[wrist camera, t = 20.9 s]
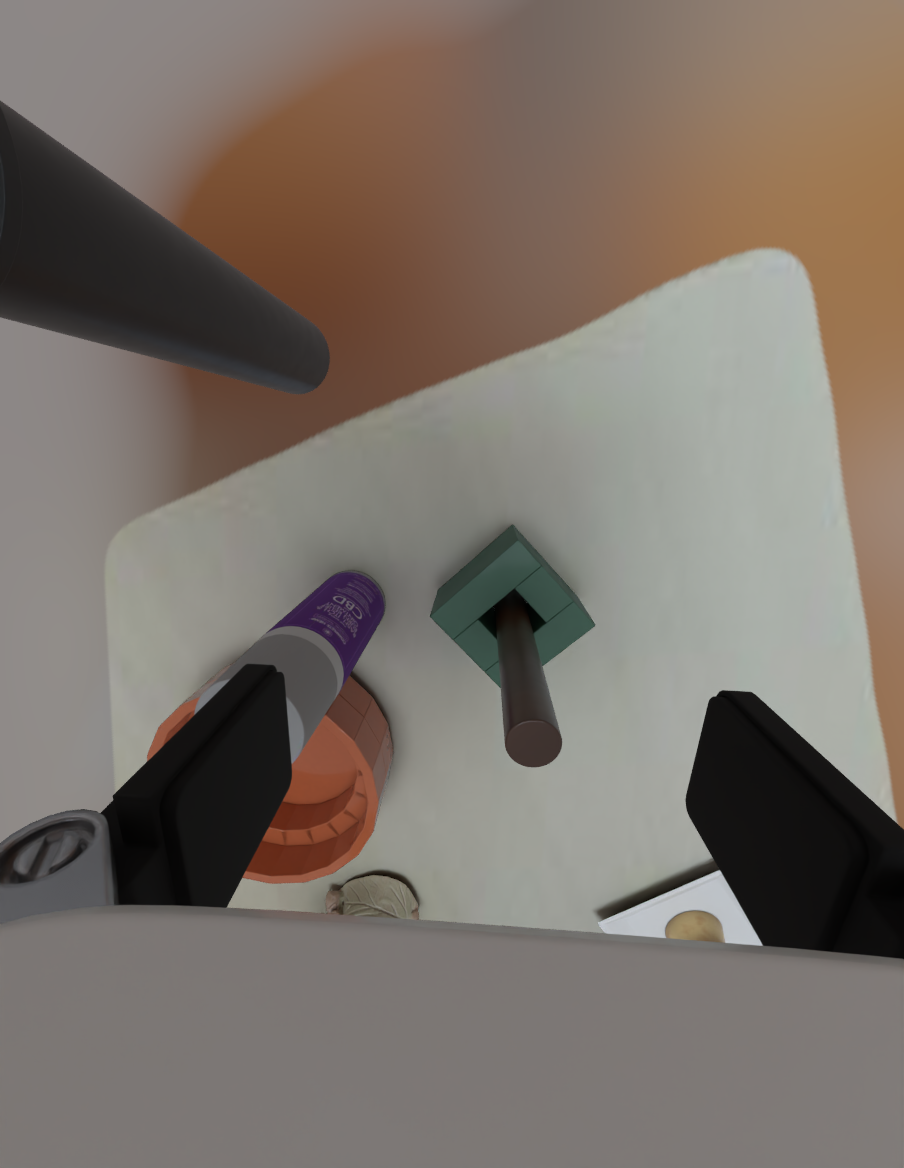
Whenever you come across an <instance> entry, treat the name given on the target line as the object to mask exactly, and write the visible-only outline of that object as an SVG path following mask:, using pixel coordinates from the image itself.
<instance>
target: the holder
mask: <svg viewBox="0 0 904 1168" xmlns="http://www.w3.org/2000/svg"><path fill="white" fill-rule="evenodd" d="M514 588H515V589H516V590H517V592H518V593H519V594H520V595H521V596H522V597H523V598H524V599H525V600H526V601H527V602H528V603H527V604H526V608H527V611H528V615H529V619H530V623H531V626H532V630H533V634H534V637H535V641H536V645H537V649H538V652H539V656H540V660H541V664H542V666H543V665H545V664H546V663H547V662H548V661H550V660H551V659H552V658H554V657H555V656H556V655H558V654H559V653H560V652H562V651H563V650H564V649H565V648H567V647H568V646H569V645H571V644H572V643H573V642H575V641H576V640H577V639H579V638H580V637H581V636H582V635H584V634H585V633H586V632H588V631H589V630H590V629H592V628H593V627H594V626H595V624H594V622H593V620H592V619H591V617H590V616H589V614H588V612H587V611H586V609H585V608H584V606H583V604H582V603H581V601H580V600H579V598H578V597H577V596H576V594H575V593H574V592H573V591H572V590H571V589H570V588H569V587H568V585H567V584H566V583H565V582H564V581H563V580H562V579H561V578H560V577H559V575H558V574H557V573H556V572H555V571H554V570H553V569H552V568H551V567H550V565H549V564H548V563H547V562H546V561H545V560H544V559H543V558H542V556H541V555H540V554H539V553H538V552H537V551H536V550H535V549H534V548H533V547H532V545H531V544H530V543H529V542H528V541H527V540H526V539H525V538H524V536H523V535H522V534H521V533H520V532H519V531H518V530H517V529H516V527H515V526H514V525H511V526H510V527H509V528H508V529H507V530H506V531H505V532H503V533H502V534H501V535H500V536H499V537H498V538H497V539H495V540H494V541H493V542H492V543H491V544H490V545H489V546H488V547H486V548H485V549H484V550H483V551H482V552H481V553H480V554H478V555H477V556H476V557H475V558H474V559H473V560H472V561H470V562H469V563H468V564H467V565H466V566H465V567H464V568H463V569H461V570H460V571H459V572H458V573H457V574H456V575H455V576H453V577H452V578H451V579H450V580H449V581H448V582H447V583H446V584H444V585H443V586H442V587H441V588H440V589H439V590H438V591H437V595H436V598H435V601H434V604H433V608H432V611H431V614H430V617H431V618H432V619H433V620H434V621H435V622H436V623H437V624H438V625H439V626H440V627H441V628H442V629H443V630H444V631H445V632H446V633H447V634H448V635H449V636H450V637H451V638H452V639H453V640H454V641H455V642H456V643H457V644H458V645H459V646H460V647H461V648H462V649H463V650H464V651H465V653H466V654H467V655H468V656H469V657H470V658H471V659H472V660H473V661H474V662H475V663H476V664H477V665H478V666H479V667H480V668H481V669H482V670H483V671H485V673H486V674H487V675H488V676H489V677H490V678H491V679H492V680H493V681H494V682H495V683H496V684H497V685H498V686H499V687H500V688H501V684H500V671H499V658H498V644H497V631H496V618H495V610H494V609H493V608H492V607H493V606H494V605H495V604H496V603H497V602H499V601H500V600H501V599H502V598H503V597H505V596H506V595H507V594H508V593H509V592H511V591H512V590H513V589H514Z"/></svg>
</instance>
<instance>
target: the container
mask: <svg viewBox="0 0 904 1168" xmlns="http://www.w3.org/2000/svg"><path fill="white" fill-rule="evenodd" d="M384 612H385V597H384V594H383V592H382V589H381V588H380V586H379V585H378V584H377V582H376V581H375V580H373V579H372V578H371V577H370V576H368V575H366V574H364V573H361V572H358V571H342V572H339V573H337V574H335V575H333V576H332V577H330V578H329V579H328V580H327V581H325V582H324V583H323V584H322V585H321V586H320V587H319V588H317V589H316V590H315V591H314V592H313V593H312V594H310V595H309V596H308V597H307V598H306V599H305V600H304V601H302V602H301V603H300V604H299V605H298V606H297V607H296V608H294V609H293V610H292V611H291V612H290V613H289V614H287V615H286V616H285V617H284V618H283V619H282V620H281V621H279V622H278V623H277V624H276V625H275V626H274V627H273V628H271V629H270V630H269V631H268V632H267V633H266V634H264V635H263V636H262V637H261V638H260V639H259V640H258V641H257V642H256V643H255V644H254V645H253V646H252V647H251V648H250V649H249V650H248V651H247V652H245V653H244V654H243V655H242V656H241V657H240V658H239V659H238V660H237V661H236V662H235V663H234V664H233V665H232V666H231V667H230V668H229V669H228V670H227V671H226V672H224V673H223V674H222V675H221V676H220V677H219V678H218V679H217V680H216V681H215V682H214V683H213V684H212V685H211V686H210V687H209V688H208V689H207V690H206V691H205V692H204V693H203V694H202V695H201V697H200V698H199V700H198V702H197V705H196V708H195V713H194V715H195V714H196V713H197V712H198V711H199V710H200V709H201V708H202V707H203V706H204V705H205V704H206V703H207V702H208V701H209V700H210V699H211V698H212V697H213V696H214V695H215V694H216V693H217V692H218V691H219V690H220V689H221V688H222V687H223V686H224V685H225V684H226V683H227V682H228V681H229V680H230V679H231V678H232V677H233V676H234V675H235V674H236V673H237V672H238V671H239V670H240V669H241V668H242V667H243V666H244V665H246V664H265V665H274V666H275V667H276V669H277V672H282V673H283V674H284V678H285V689H286V702H287V714H288V726H289V738H290V751H291V763H293V762H294V761H295V760H296V759H297V758H298V756H299V755H300V753H301V752H302V750H303V748H304V747H305V745H306V744H307V742H308V741H309V739H310V737H311V736H312V734H313V733H314V731H315V730H316V728H317V726H318V725H319V723H320V722H321V720H322V719H323V717H324V715H325V714H326V712H327V711H328V709H329V708H330V706H331V704H332V703H333V701H334V700H335V698H336V697H337V695H338V694H339V692H340V691H341V689H342V687H343V685H344V684H345V682H346V680H347V678H348V677H349V675H350V673H351V671H352V670H353V668H354V666H355V664H356V663H357V661H358V659H359V658H360V656H361V654H362V652H363V651H364V649H365V647H366V645H367V644H368V642H369V640H370V638H371V637H372V635H373V633H374V631H375V630H376V628H377V626H378V624H379V623H380V621H381V619H382V617H383V615H384Z"/></svg>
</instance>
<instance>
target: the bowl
mask: <svg viewBox="0 0 904 1168" xmlns="http://www.w3.org/2000/svg"><path fill="white" fill-rule="evenodd" d="M233 664H234V663H233ZM233 664H231V665H228V666H226V667H224V668H223V669H222V670H221V671H220V672H218V673H217V674H216V675H215V676H214V677H213V678H211V679H210V680H209V681H208V682H207V683H206V684H205V685H204V686H202V687H201V688H200V689H199V690H198V691H196V692H195V693H194V694H193V695H192V696H191V697H190V698H188V699H187V700H186V701H185V702H184V703H183V704H181V705H180V706H179V707H178V708H177V709H176V710H175V711H174V712H173V713H172V714H171V715H170V716H169V717H168V718H167V719H166V720H165V721H164V722H163V723H162V724H161V725H160V726H159V728H158V730H157V732H156V735H155V737H154V740H153V742H152V745H151V747H150V750H149V752H148V755H147V761H148V760H149V759H150V758H151V757H153V756H154V755H155V754H156V753H157V752H158V751H159V750H160V749H161V748H162V747H163V746H164V745H165V744H166V743H167V742H168V741H169V740H170V739H171V738H172V737H173V736H174V735H175V734H176V733H177V732H178V731H179V730H180V729H181V728H182V727H183V726H184V725H185V724H186V723H187V722H188V721H189V720H190V719H191V718H192V717H193V716H194V713H195V708H196V705H197V702H198V700H199V698H200V697H201V695H202V694H203V693H204V692H205V691H206V690H207V689H208V688H209V687H210V686H211V685H212V684H213V683H214V682H215V681H216V680H217V679H218V678H219V677H220V676H221V675H222V674H223V673H224V672H226V671H227V670H228V669H229V668H230V667H231V666H232V665H233ZM392 757H393V747H392V742H391V737H390V731H389V726H388V723H387V721H386V720H385V718H384V716H383V714H382V713H381V711H380V709H379V707H378V706H377V704H376V702H375V700H374V699H373V698H372V696H371V695H370V694H369V693H368V692H367V691H366V690H365V689H363V688H362V687H361V686H360V685H359V684H358V683H357V682H356V681H355V680H354V679H353V678H352V677H351V676H350V675H349V677H348V678H347V680H346V682H345V684H344V685H343V687H342V689H341V691H340V692H339V694H338V695H337V697H336V698H335V700H334V701H333V703H332V704H331V706H330V708H329V709H328V711H327V712H326V714H325V715H324V717H323V719H322V720H321V722H320V723H319V725H318V726H317V728H316V730H315V731H314V733H313V734H312V736H311V737H310V739H309V741H308V742H307V744H306V745H305V747H304V748H303V750H302V752H301V753H300V755H299V756H298V758H297V759H296V760H295V761H294V762H293V763H292V780H291V784H290V787H289V790H288V792H287V794H286V796H285V797H284V799H283V801H282V803H281V805H280V807H279V809H278V811H277V813H276V815H275V816H274V818H273V820H272V822H271V824H270V826H269V828H268V830H267V832H266V833H265V835H264V837H263V839H262V841H261V843H260V845H259V847H258V849H257V851H256V852H255V854H254V856H253V858H252V860H251V862H250V864H249V866H248V868H247V870H246V871H245V873H244V875H243V877H242V878H246V879H251V880H256V881H260V882H265V883H270V884H271V883H272V884H277V883H303V882H308V881H311V880H314V879H317V878H320V877H323V876H326V875H329V874H333V873H334V872H336V871H337V870H338V869H340V868H341V867H343V866H344V865H345V864H347V863H348V862H349V861H351V860H352V859H354V858H355V857H356V856H357V855H359V853H360V852H361V850H362V848H363V847H364V845H365V844H366V842H367V841H368V839H369V838H370V836H371V835H372V833H373V831H374V828H375V824H376V821H377V817H378V814H379V810H380V806H381V803H382V799H383V796H384V792H385V789H386V785H387V782H388V778H389V773H390V768H391V762H392Z"/></svg>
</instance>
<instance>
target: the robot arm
mask: <svg viewBox="0 0 904 1168" xmlns="http://www.w3.org/2000/svg"><path fill="white" fill-rule="evenodd" d="M291 780H292V763H291V751H290V738H289V726H288V714H287V702H286V689H285V678H284V674H283V673H282V672H277V669H276V667H275V666H274V665H265V664H246V665H244V666H243V667H242V668H241V669H240V670H239V671H238V672H237V673H236V674H235V675H234V676H233V677H232V678H231V679H230V680H229V681H228V682H227V683H226V684H225V685H224V686H223V687H222V688H221V689H220V690H219V691H218V692H217V693H216V694H215V695H214V696H213V697H212V698H211V699H210V700H209V701H208V702H207V703H206V704H205V705H204V706H203V707H202V708H201V709H200V710H199V711H198V712H197V713H196V714H195V715H194V716H193V717H192V718H191V719H190V720H189V721H188V722H187V723H186V724H185V725H184V726H183V727H182V728H181V729H180V730H179V731H178V732H177V733H176V734H175V735H174V736H173V737H172V738H171V739H170V740H169V741H168V742H167V743H166V744H165V745H164V746H163V747H162V748H161V749H160V750H159V751H158V752H157V753H156V754H155V755H154V756H153V757H151V758H150V759H149V760H148V761H147V762H146V763H145V764H144V765H143V766H142V767H141V768H140V769H139V770H138V771H137V772H136V773H135V774H134V775H133V776H132V777H131V778H130V779H129V780H128V781H127V782H126V783H125V784H124V785H123V786H122V787H121V788H120V789H119V790H118V791H117V792H116V793H115V794H114V795H113V801H112V802H111V803H110V804H109V805H108V806H107V807H106V808H105V809H104V810H103V811H102V812H101V813H98V812H97V811H92V810H85V809H81V810H72V811H65V812H61V813H57V814H54V815H50V816H47V817H45V818H42V819H40V820H38V821H36V822H33V823H31V824H29V825H27V826H25V827H24V828H22V829H20V830H18V831H17V832H15V833H13V834H12V835H10V836H9V837H8V838H6V839H5V840H4V841H2V842H1V843H0V1168H904V830H903V829H902V828H901V827H900V826H899V825H898V824H897V823H896V822H895V821H894V820H892V819H891V818H890V817H889V816H888V815H887V814H886V813H885V812H884V811H883V810H881V809H880V808H879V807H878V806H877V805H876V804H875V803H874V802H873V801H872V800H871V799H869V798H868V797H867V796H866V795H865V794H864V793H863V792H862V791H861V790H860V789H858V788H857V787H856V786H855V785H854V784H853V783H852V782H851V781H850V780H849V779H847V778H846V777H845V776H844V775H843V774H842V773H841V772H840V771H839V770H838V769H836V768H835V767H834V766H833V765H832V764H831V763H830V762H829V761H828V760H827V759H825V758H824V757H823V756H822V755H821V754H820V753H819V752H818V751H817V750H816V749H814V748H813V747H812V746H811V745H810V744H809V743H808V742H807V741H806V740H805V739H803V738H802V737H801V736H800V735H799V734H798V733H797V732H796V731H795V730H794V729H793V728H791V727H790V726H789V725H788V724H787V723H786V722H785V721H784V720H783V719H782V718H780V717H779V716H778V715H777V714H776V713H775V712H774V711H773V710H772V709H771V708H769V707H768V706H767V705H766V704H765V703H764V702H763V701H762V700H761V699H760V698H758V697H757V696H756V695H755V694H753V693H752V692H742V691H725V690H722V691H720V692H719V693H718V695H717V696H716V697H712V698H711V699H710V700H709V703H708V707H707V711H706V715H705V719H704V723H703V727H702V732H701V736H700V740H699V744H698V748H697V753H696V757H695V761H694V765H693V769H692V774H691V778H690V782H689V786H688V790H687V794H686V808H687V812H688V815H689V817H690V819H691V820H692V822H693V824H694V826H695V827H696V829H697V831H698V833H699V834H700V836H701V838H702V840H703V841H704V843H705V845H706V847H707V848H708V850H709V852H710V854H711V855H712V857H713V859H714V861H715V862H716V864H717V866H718V868H719V869H720V871H721V873H722V875H723V876H724V878H725V880H726V882H727V883H728V885H729V887H730V889H731V890H732V892H733V894H734V896H735V897H736V899H737V901H738V903H739V904H740V906H741V908H742V910H743V912H744V913H745V915H746V917H747V919H748V920H749V922H750V924H751V926H752V927H753V929H754V931H755V933H756V934H757V936H758V938H759V940H760V941H761V943H762V945H763V946H758V945H746V944H733V943H721V942H708V941H696V940H683V939H671V938H658V937H646V936H633V935H620V934H606V933H593V932H580V931H566V930H553V929H539V928H526V927H512V926H498V925H484V924H471V923H457V922H443V921H429V920H414V919H399V918H384V917H369V916H354V915H339V914H324V913H310V912H295V911H280V910H260V909H240V908H226V907H227V906H228V904H229V902H230V900H231V898H232V896H233V894H234V892H235V890H236V889H237V887H238V885H239V883H240V881H241V879H242V877H243V875H244V873H245V871H246V870H247V868H248V866H249V864H250V862H251V860H252V858H253V856H254V854H255V852H256V851H257V849H258V847H259V845H260V843H261V841H262V839H263V837H264V835H265V833H266V832H267V830H268V828H269V826H270V824H271V822H272V820H273V818H274V816H275V815H276V813H277V811H278V809H279V807H280V805H281V803H282V801H283V799H284V797H285V796H286V794H287V792H288V790H289V787H290V784H291Z"/></svg>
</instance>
